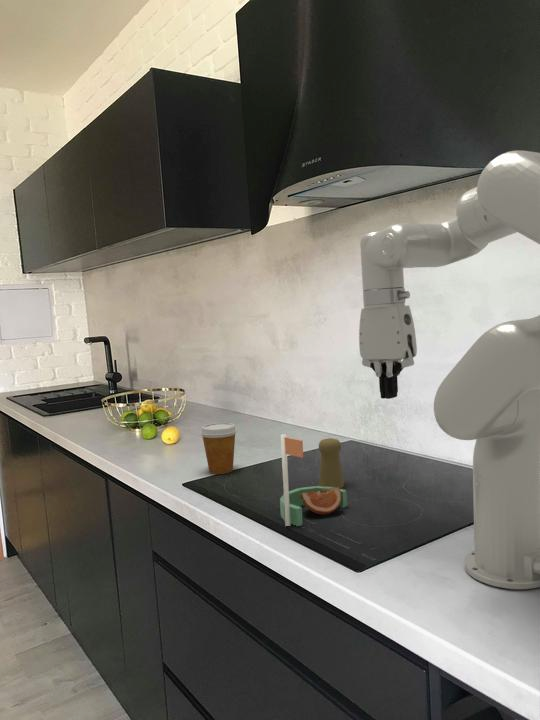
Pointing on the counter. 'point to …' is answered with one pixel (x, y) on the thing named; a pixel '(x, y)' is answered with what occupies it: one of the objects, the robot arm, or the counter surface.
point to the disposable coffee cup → (219, 446)
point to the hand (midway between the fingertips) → (389, 397)
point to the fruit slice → (322, 500)
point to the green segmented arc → (292, 499)
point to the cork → (330, 464)
